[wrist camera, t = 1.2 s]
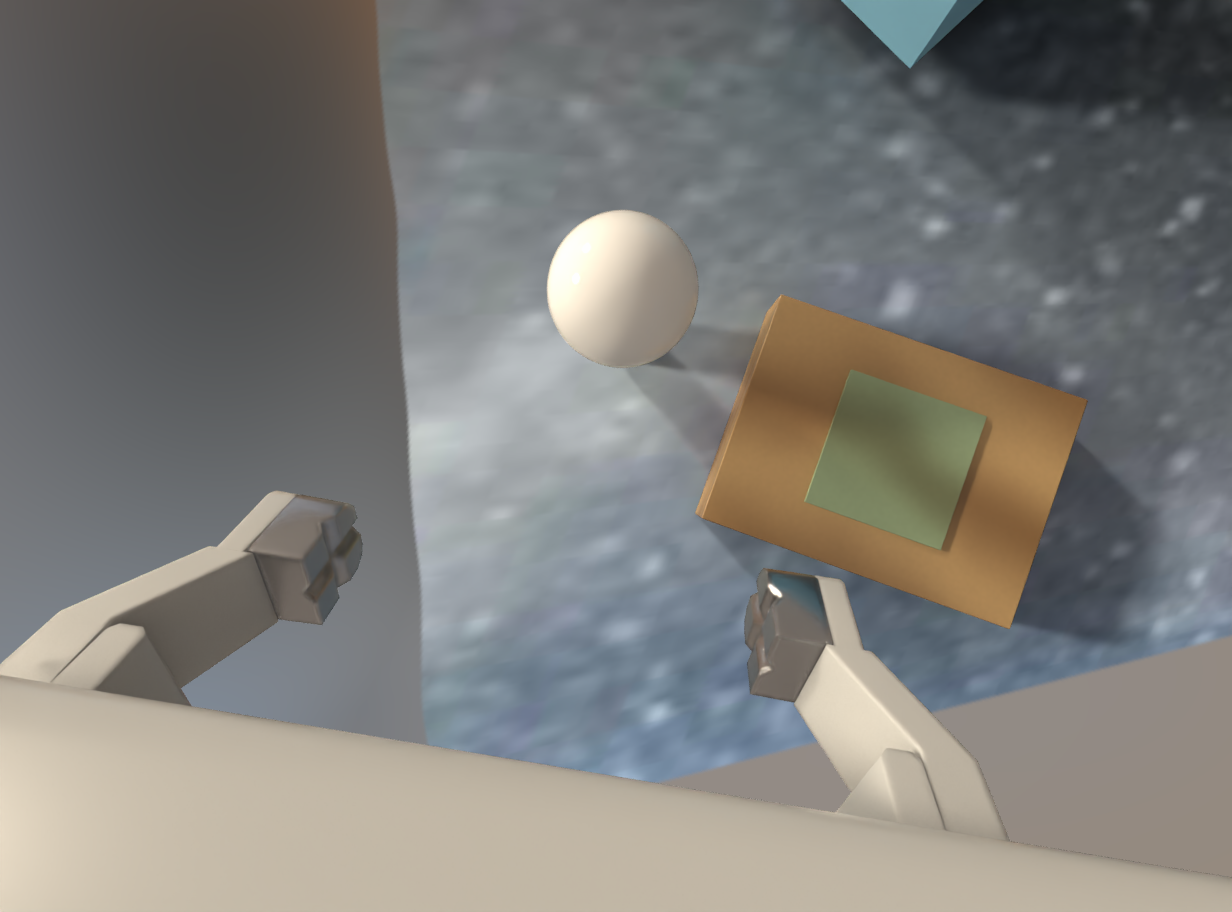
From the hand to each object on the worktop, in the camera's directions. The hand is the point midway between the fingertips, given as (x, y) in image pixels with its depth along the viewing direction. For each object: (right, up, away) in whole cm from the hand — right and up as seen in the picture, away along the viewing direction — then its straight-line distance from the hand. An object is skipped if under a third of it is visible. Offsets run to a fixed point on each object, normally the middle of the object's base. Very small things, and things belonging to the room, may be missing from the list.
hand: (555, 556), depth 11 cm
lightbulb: (+2, +9, +21) cm, 22 cm away
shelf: (+15, +2, +20) cm, 25 cm away
